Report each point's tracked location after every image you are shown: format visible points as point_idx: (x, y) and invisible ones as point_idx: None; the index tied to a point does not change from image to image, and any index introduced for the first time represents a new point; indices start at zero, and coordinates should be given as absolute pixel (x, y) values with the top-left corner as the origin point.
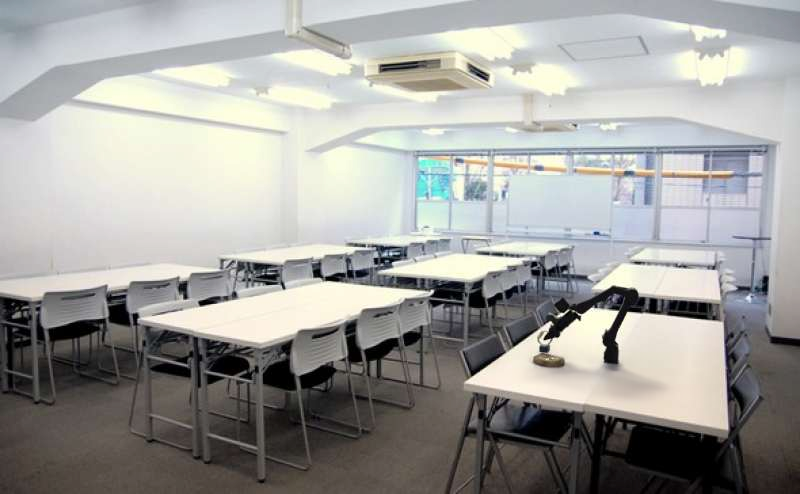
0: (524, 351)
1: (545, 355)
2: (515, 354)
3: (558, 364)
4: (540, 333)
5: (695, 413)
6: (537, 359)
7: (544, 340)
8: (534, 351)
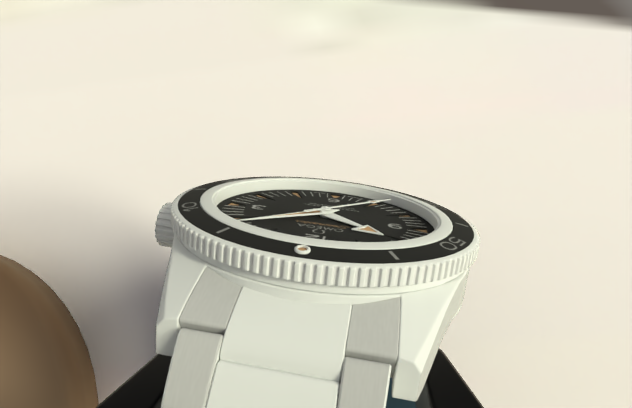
0: (343, 100)
1: (9, 397)
2: (171, 30)
3: None
4: (175, 234)
5: None
6: None
7: None
8: None
